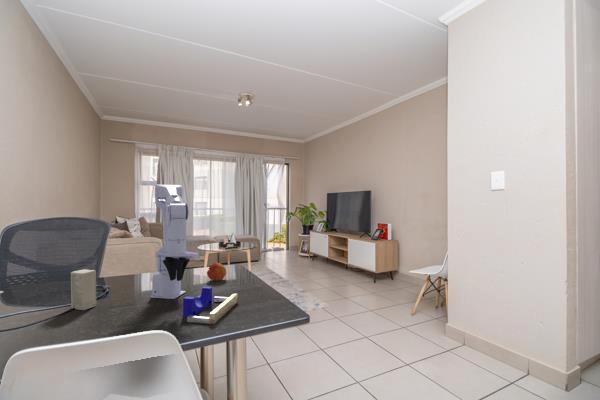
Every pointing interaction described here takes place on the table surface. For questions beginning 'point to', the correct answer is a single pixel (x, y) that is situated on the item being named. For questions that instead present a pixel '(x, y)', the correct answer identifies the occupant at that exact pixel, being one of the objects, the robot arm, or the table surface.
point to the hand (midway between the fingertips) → (176, 279)
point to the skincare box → (83, 289)
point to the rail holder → (216, 310)
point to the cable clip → (197, 302)
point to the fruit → (216, 272)
